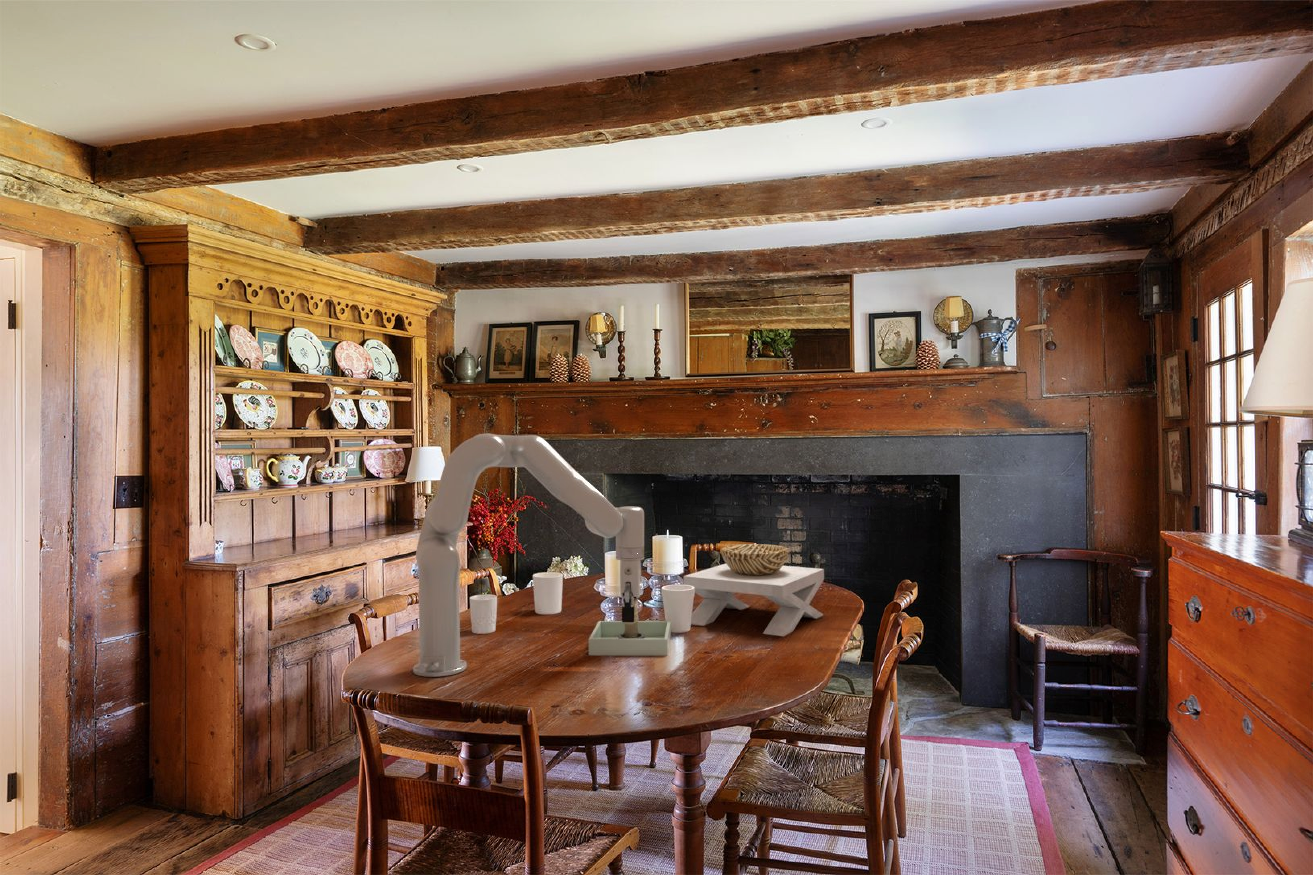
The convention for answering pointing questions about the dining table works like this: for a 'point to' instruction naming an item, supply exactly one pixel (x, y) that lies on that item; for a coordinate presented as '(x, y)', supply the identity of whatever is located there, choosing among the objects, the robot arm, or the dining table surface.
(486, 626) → the white cup
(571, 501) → the robot arm
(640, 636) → the wick clip
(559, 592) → the candle holder
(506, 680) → the dining table surface
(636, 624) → the wick peg
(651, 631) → the pale green rectangular tray
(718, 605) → the grey stool with basket
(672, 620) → the foam cup
